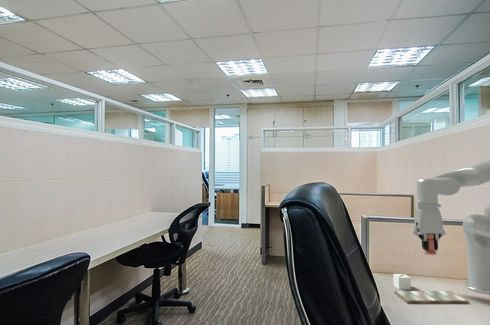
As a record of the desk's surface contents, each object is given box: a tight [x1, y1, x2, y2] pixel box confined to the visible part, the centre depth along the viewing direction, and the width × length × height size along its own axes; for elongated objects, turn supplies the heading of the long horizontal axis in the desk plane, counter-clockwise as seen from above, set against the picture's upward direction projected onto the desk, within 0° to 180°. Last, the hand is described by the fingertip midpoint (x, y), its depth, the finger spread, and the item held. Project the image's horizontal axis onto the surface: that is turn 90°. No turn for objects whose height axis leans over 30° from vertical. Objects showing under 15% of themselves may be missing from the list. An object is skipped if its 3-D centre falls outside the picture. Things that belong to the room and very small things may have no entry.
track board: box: [394, 290, 469, 305], centre depth 117 cm, size 23×10×1 cm, turn 88°
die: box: [392, 273, 412, 290], centre depth 129 cm, size 5×5×5 cm
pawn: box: [423, 234, 437, 256], centre depth 127 cm, size 4×4×9 cm
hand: (430, 249), depth 127 cm, fingers closed on pawn, 3 cm apart
